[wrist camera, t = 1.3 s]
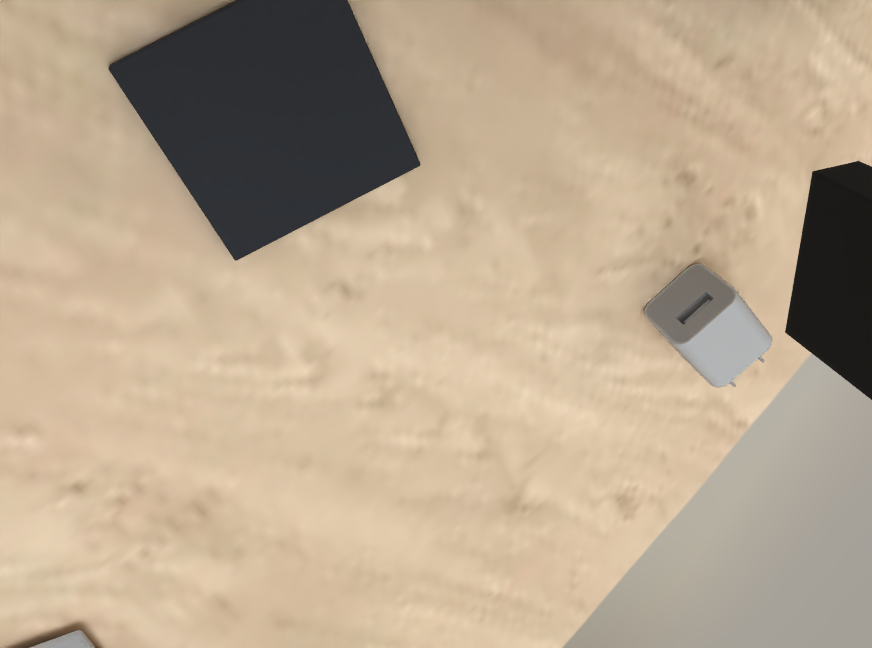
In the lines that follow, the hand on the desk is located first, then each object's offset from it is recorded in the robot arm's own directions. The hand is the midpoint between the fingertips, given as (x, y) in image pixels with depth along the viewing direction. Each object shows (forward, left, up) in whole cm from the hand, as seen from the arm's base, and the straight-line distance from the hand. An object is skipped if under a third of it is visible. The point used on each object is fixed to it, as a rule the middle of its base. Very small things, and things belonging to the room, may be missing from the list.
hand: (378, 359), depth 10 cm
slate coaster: (+3, 0, -23) cm, 23 cm away
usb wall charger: (+19, +20, -23) cm, 37 cm away
